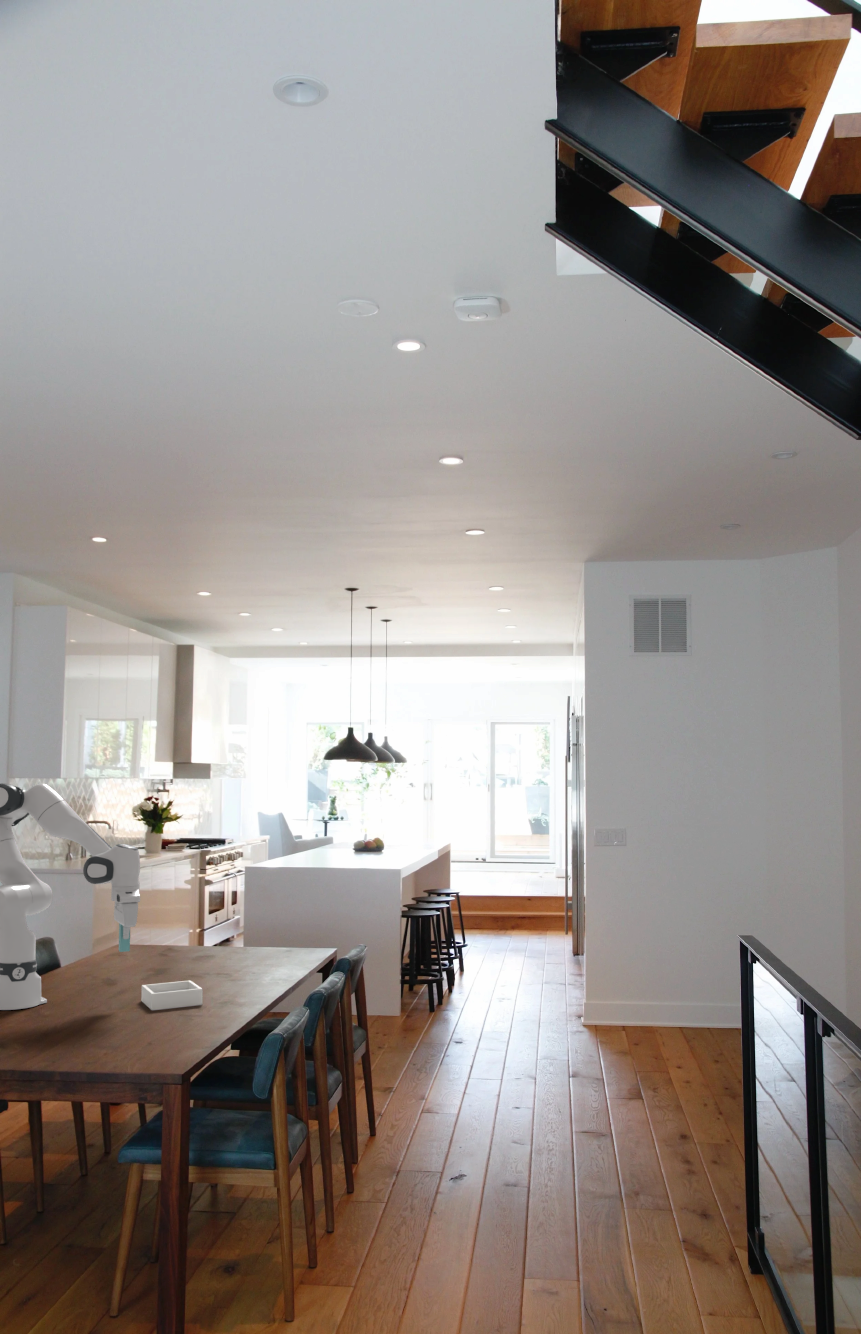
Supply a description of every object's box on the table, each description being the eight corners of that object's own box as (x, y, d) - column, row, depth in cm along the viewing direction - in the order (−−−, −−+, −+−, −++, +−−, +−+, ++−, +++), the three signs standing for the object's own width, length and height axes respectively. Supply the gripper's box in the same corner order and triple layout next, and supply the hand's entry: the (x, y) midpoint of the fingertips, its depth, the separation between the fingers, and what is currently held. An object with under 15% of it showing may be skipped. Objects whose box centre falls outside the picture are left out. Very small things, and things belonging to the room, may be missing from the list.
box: (141, 1001, 338) (141, 985, 338) (190, 995, 345) (190, 980, 346) (151, 1010, 324) (152, 994, 324) (202, 1004, 331) (202, 988, 331)
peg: (118, 950, 337) (119, 919, 338) (127, 949, 338) (128, 918, 339) (120, 952, 334) (121, 920, 335) (129, 951, 335) (130, 919, 337)
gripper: (109, 892, 346) (108, 934, 344) (121, 898, 328) (120, 943, 326) (129, 891, 349) (128, 933, 347) (141, 897, 330) (140, 941, 329)
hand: (124, 937), depth 337 cm, fingers closed on peg, 3 cm apart
